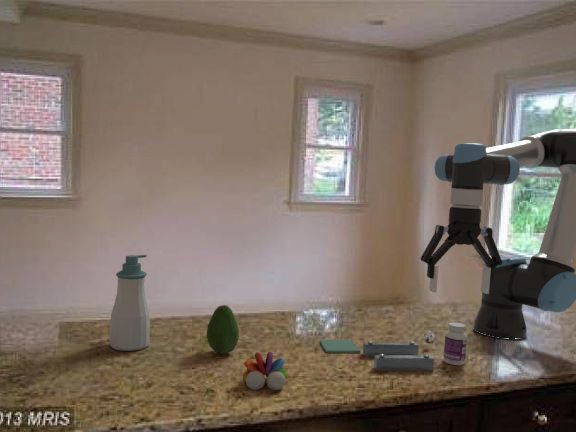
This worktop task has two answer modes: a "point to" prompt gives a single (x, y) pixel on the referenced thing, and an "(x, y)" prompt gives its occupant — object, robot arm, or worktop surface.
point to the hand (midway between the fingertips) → (458, 292)
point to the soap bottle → (130, 309)
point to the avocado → (223, 330)
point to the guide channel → (397, 356)
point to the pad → (339, 346)
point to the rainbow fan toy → (265, 372)
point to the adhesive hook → (430, 336)
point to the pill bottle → (455, 344)
